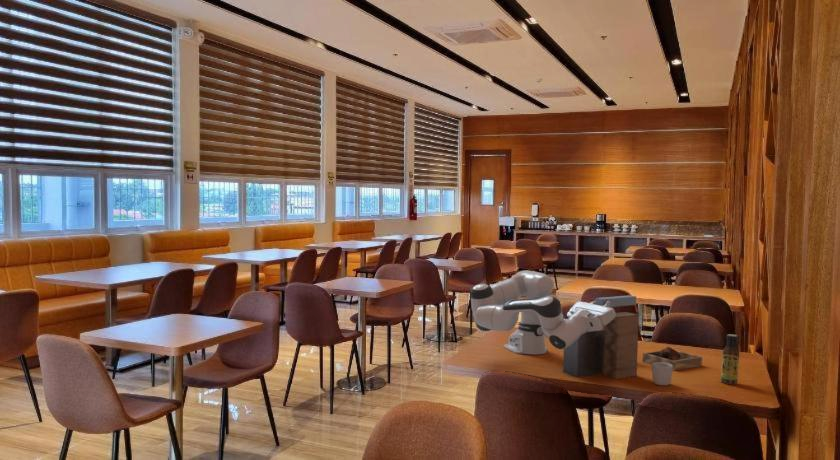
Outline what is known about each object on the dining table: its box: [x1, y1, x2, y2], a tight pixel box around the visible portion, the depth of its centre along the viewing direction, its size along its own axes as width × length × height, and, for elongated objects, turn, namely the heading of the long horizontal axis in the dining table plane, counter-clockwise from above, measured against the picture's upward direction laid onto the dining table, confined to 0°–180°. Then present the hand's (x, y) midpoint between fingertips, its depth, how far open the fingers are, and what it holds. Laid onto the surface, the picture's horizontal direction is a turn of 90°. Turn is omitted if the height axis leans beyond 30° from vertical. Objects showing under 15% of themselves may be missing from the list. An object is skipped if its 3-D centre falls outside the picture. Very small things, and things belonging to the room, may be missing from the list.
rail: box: [595, 295, 637, 308], centre depth 268 cm, size 4×20×4 cm, turn 120°
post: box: [603, 311, 640, 380], centre depth 271 cm, size 7×12×26 cm, turn 120°
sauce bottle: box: [720, 333, 740, 386], centre depth 263 cm, size 6×6×20 cm
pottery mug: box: [658, 346, 681, 360], centre depth 294 cm, size 12×10×8 cm
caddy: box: [642, 349, 703, 372], centre depth 293 cm, size 17×19×4 cm
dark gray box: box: [562, 328, 605, 378], centre depth 275 cm, size 8×18×18 cm, turn 120°
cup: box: [651, 362, 673, 387], centre depth 261 cm, size 11×8×8 cm
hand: (604, 301), depth 265 cm, fingers closed on rail, 3 cm apart
